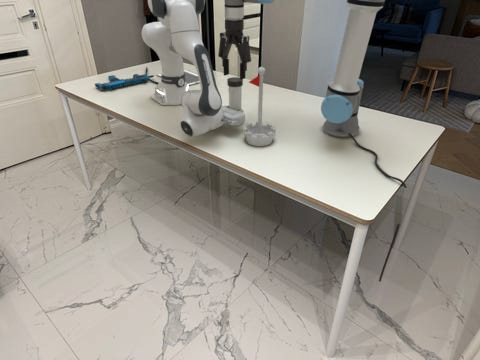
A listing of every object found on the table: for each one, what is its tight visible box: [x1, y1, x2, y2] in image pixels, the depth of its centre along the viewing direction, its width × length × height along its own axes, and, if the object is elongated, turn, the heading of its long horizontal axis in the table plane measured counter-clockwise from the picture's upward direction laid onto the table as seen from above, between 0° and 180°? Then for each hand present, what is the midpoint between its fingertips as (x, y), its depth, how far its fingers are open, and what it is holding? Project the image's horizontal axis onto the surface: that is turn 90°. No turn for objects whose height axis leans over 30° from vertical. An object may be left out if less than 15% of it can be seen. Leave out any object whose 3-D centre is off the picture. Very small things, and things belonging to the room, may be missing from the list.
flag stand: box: [243, 66, 276, 147], centre depth 134 cm, size 13×13×30 cm
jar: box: [228, 85, 243, 127], centre depth 152 cm, size 6×6×20 cm
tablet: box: [156, 69, 200, 87], centre depth 217 cm, size 32×20×1 cm, turn 41°
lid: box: [226, 76, 244, 87], centre depth 147 cm, size 7×7×2 cm
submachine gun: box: [94, 73, 155, 91], centre depth 208 cm, size 34×4×25 cm
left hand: (236, 108), depth 154 cm, fingers closed on jar, 5 cm apart
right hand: (234, 76), depth 145 cm, fingers open, 8 cm apart
